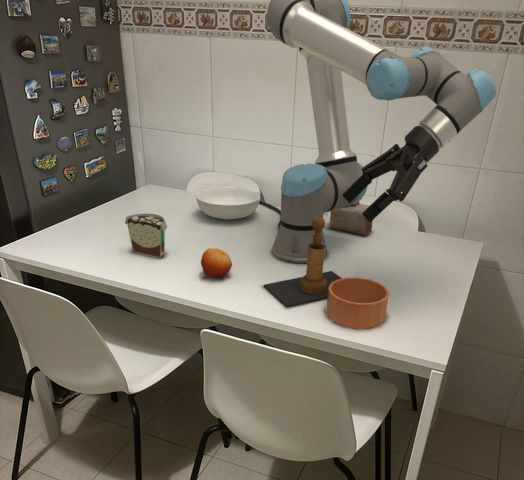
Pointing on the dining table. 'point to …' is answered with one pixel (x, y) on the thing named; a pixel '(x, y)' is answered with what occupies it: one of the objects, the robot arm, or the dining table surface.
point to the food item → (351, 219)
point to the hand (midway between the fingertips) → (355, 208)
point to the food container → (147, 234)
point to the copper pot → (353, 312)
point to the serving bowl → (228, 202)
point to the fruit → (215, 263)
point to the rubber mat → (298, 290)
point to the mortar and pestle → (315, 262)
